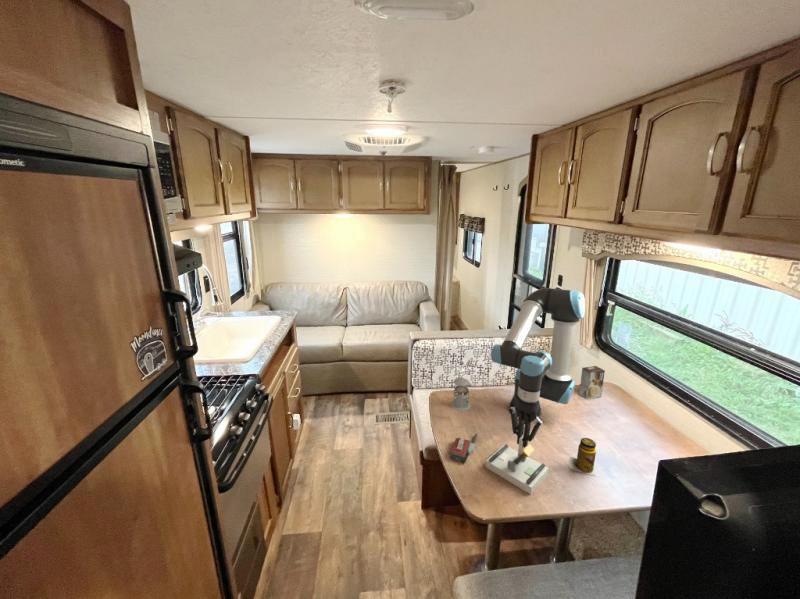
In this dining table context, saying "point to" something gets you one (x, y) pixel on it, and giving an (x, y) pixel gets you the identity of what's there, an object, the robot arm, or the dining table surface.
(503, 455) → the panel
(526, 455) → the lever
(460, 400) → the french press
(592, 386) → the coffee box
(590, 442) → the condiment
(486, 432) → the dining table surface
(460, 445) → the walkie-talkie
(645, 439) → the dining table surface
